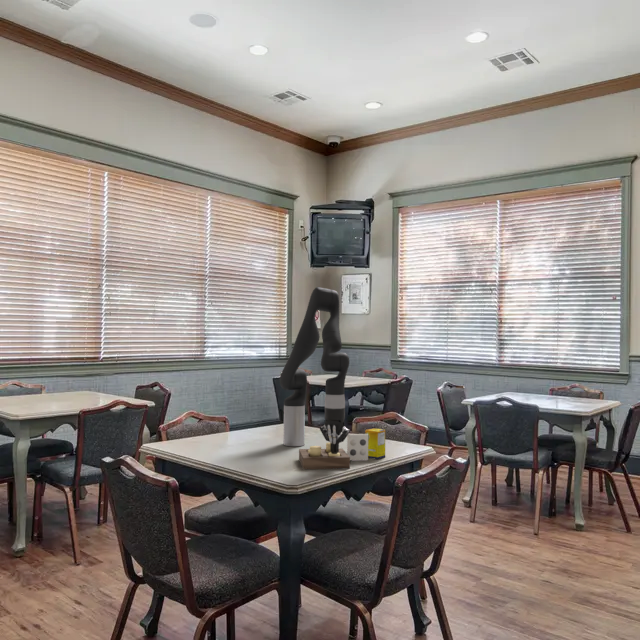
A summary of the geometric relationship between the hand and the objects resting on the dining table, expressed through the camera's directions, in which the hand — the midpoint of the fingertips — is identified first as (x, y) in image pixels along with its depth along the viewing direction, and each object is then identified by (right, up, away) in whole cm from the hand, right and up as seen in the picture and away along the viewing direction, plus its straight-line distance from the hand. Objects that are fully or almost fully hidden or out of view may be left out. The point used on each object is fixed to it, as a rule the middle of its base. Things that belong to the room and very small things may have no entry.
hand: (334, 453), depth 223 cm
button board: (-4, -5, +3) cm, 7 cm away
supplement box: (+17, -5, +16) cm, 24 cm away
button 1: (-8, -3, +6) cm, 10 cm away
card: (+9, -5, +10) cm, 15 cm away
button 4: (0, -3, 0) cm, 3 cm away
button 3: (-1, -1, +7) cm, 7 cm away
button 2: (-7, -1, -1) cm, 7 cm away
